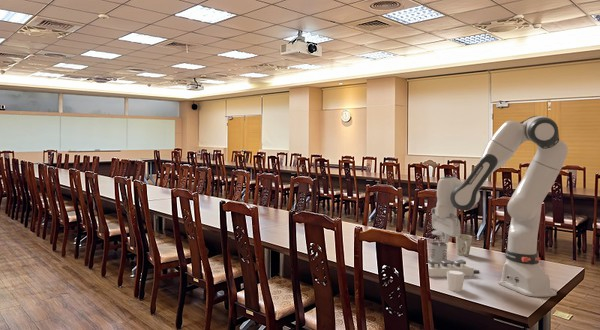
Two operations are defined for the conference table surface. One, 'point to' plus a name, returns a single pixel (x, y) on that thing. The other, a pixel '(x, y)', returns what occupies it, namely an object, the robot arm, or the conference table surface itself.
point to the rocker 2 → (459, 262)
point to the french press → (438, 249)
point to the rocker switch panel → (442, 270)
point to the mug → (463, 244)
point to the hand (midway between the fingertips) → (445, 242)
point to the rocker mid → (446, 262)
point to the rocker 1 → (433, 262)
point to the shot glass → (455, 280)
